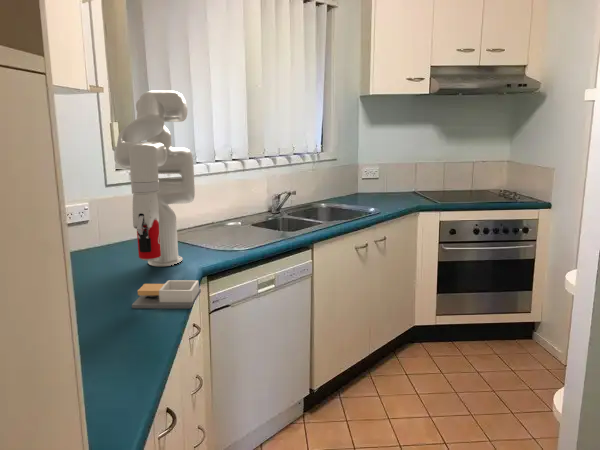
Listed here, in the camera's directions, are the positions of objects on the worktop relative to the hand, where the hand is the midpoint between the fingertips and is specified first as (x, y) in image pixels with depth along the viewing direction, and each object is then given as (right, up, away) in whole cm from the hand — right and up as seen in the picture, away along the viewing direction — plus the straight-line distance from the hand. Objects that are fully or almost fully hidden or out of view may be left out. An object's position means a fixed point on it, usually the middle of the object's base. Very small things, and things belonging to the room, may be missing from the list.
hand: (149, 248), depth 148 cm
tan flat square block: (0, -14, +3) cm, 14 cm away
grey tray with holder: (+4, -15, +3) cm, 16 cm away
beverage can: (0, -3, +1) cm, 3 cm away
